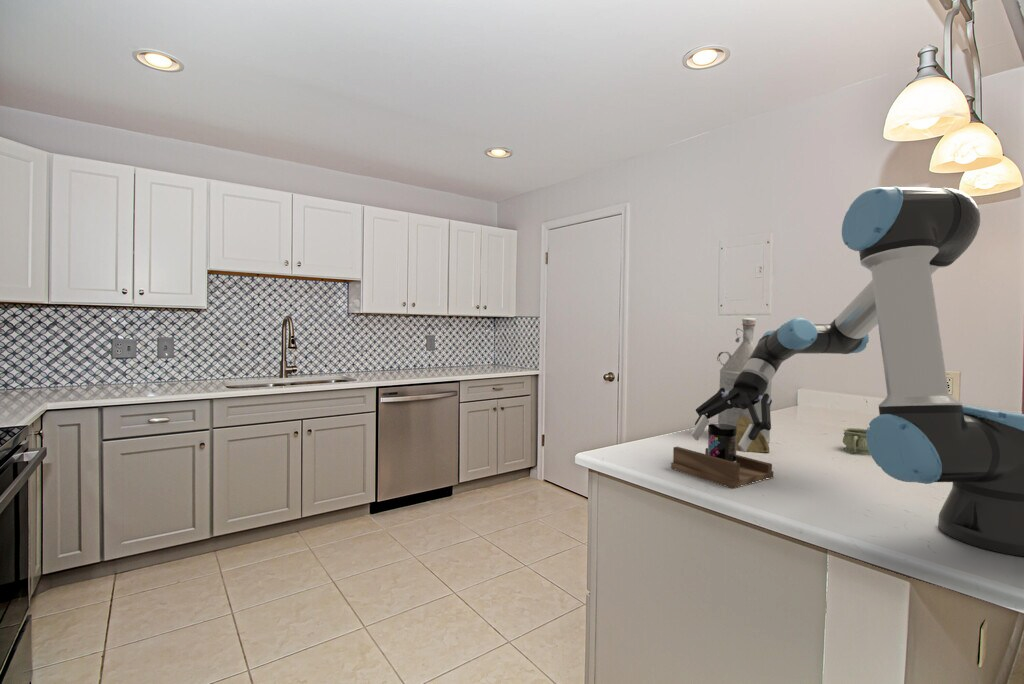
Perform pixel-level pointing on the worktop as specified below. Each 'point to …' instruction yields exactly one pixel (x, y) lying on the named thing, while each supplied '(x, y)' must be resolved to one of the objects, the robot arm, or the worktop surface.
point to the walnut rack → (721, 467)
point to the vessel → (856, 441)
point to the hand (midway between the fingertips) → (716, 442)
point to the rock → (755, 445)
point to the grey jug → (732, 372)
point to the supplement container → (722, 441)
